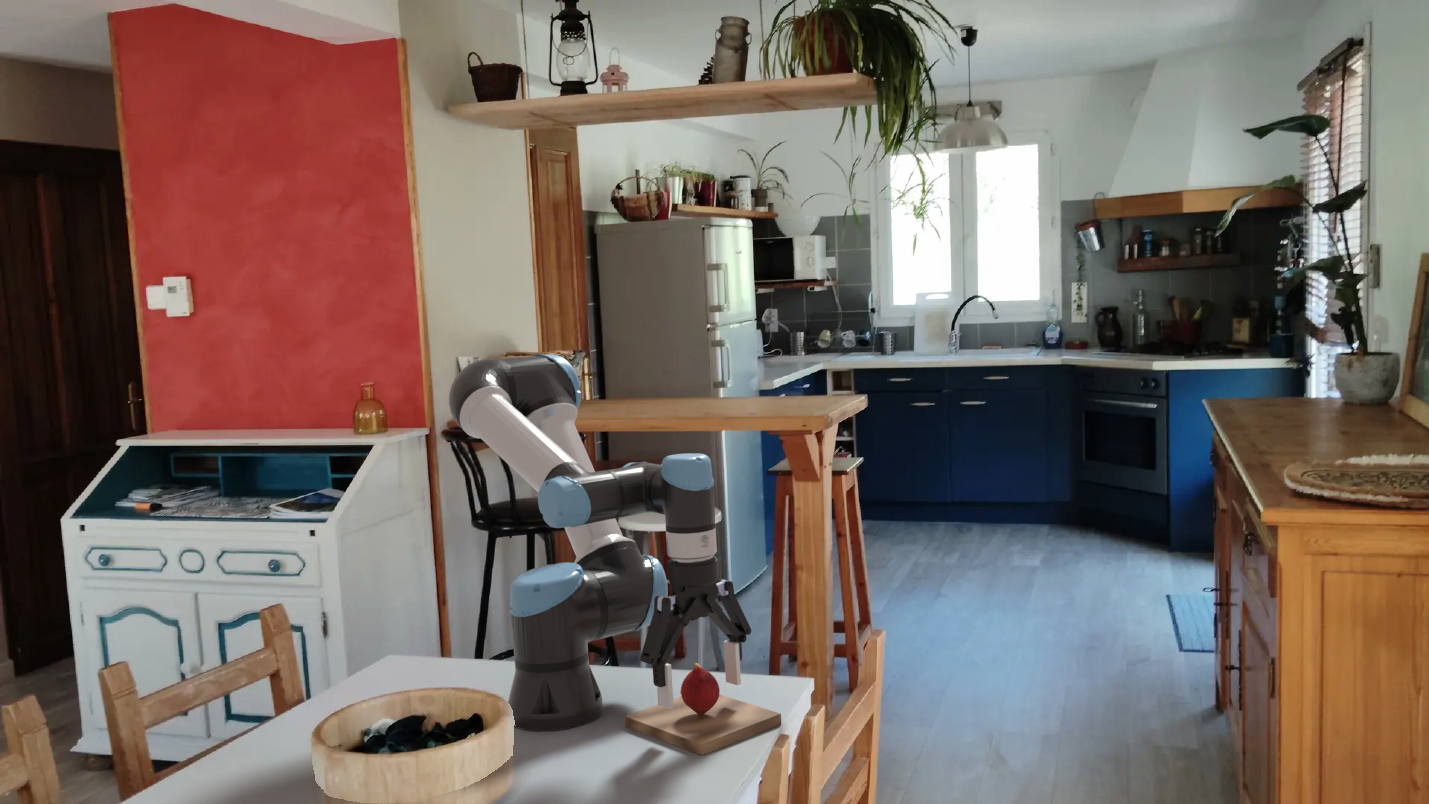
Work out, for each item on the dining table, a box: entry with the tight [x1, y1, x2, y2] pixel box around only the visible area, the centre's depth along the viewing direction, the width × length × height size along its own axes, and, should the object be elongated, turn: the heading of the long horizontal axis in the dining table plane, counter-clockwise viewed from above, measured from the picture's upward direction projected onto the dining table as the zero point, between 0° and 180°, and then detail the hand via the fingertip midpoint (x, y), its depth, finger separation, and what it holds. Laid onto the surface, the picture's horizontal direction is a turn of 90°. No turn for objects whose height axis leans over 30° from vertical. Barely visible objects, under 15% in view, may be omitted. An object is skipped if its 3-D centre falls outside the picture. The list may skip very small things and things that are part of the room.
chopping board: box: [623, 694, 782, 756], centre depth 177 cm, size 18×16×2 cm
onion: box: [680, 662, 721, 715], centre depth 176 cm, size 6×6×8 cm
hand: (700, 694), depth 176 cm, fingers open, 13 cm apart
